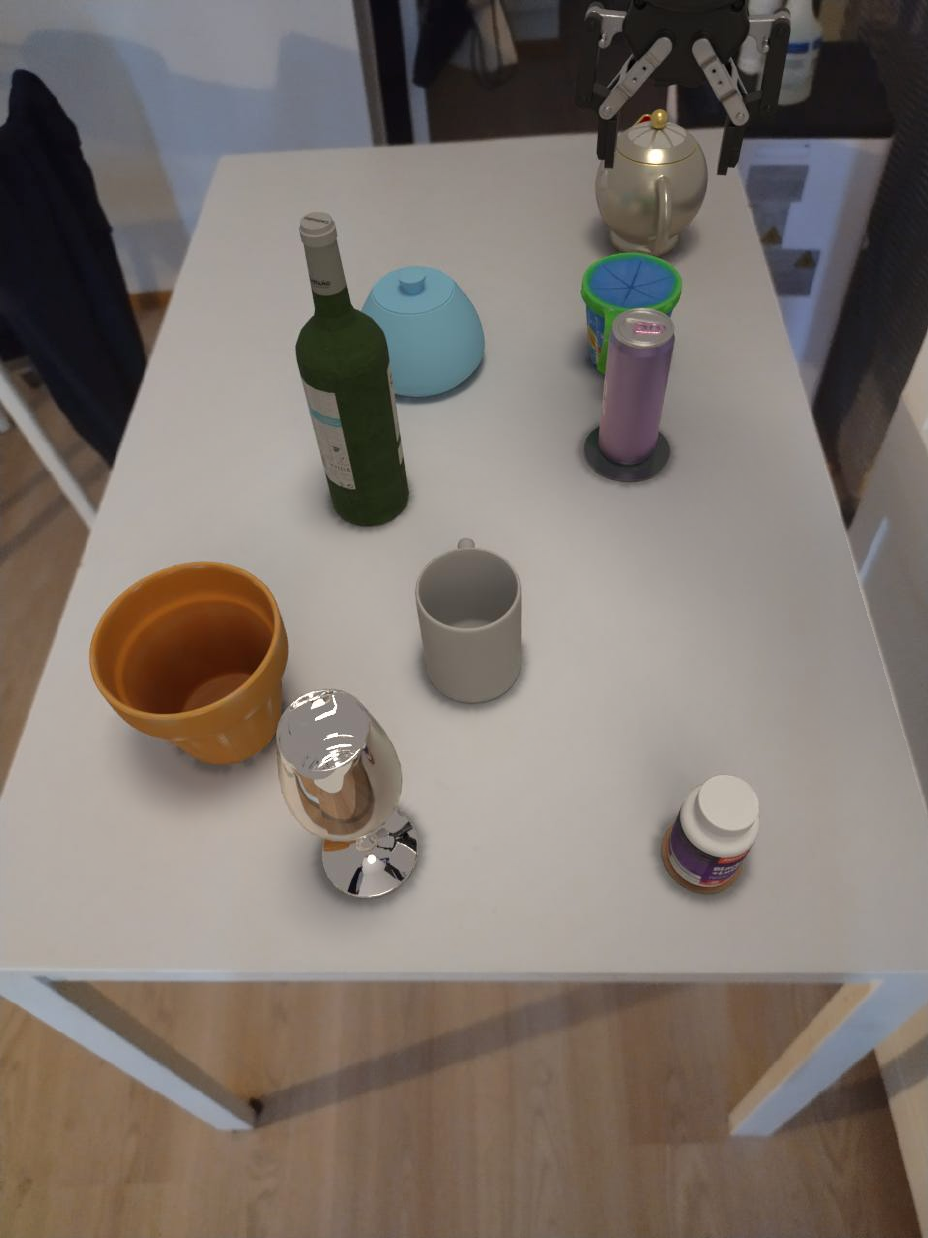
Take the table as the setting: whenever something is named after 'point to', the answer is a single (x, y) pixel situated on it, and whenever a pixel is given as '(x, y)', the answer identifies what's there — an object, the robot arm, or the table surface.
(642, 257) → the sippy cup
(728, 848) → the pill bottle
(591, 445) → the slate coaster
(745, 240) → the table surface
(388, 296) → the sugar bowl
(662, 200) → the teapot
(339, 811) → the wineglass
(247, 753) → the flower pot
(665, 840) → the cork coaster
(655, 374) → the beverage can
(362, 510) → the wine bottle
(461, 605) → the mug
